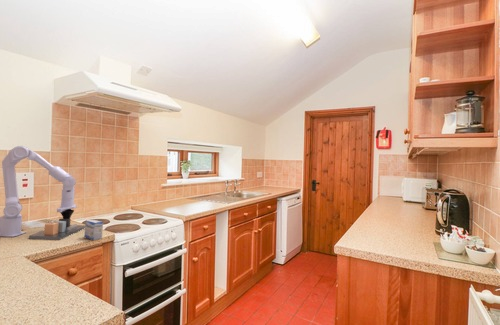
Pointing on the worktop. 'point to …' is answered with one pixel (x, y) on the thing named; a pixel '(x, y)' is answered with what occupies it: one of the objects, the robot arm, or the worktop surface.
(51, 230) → the housing block
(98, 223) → the medicine box
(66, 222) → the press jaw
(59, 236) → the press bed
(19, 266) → the worktop surface
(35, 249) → the worktop surface
